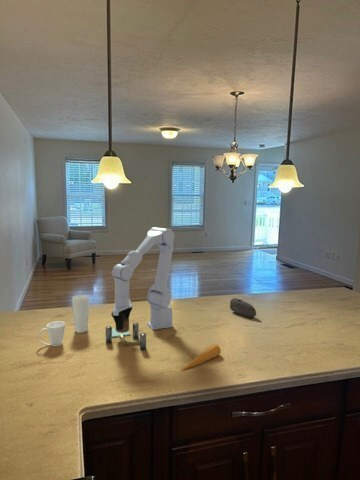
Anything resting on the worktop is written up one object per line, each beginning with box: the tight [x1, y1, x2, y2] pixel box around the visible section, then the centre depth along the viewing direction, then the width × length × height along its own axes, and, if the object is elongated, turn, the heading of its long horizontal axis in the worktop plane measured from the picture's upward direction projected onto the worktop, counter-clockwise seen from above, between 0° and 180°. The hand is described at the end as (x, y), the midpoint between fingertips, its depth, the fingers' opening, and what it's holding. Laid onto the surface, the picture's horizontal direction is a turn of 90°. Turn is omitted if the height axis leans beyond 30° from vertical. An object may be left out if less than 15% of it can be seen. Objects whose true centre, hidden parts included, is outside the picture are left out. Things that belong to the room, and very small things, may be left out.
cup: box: [38, 320, 66, 347], centre depth 139 cm, size 7×10×8 cm
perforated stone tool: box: [229, 297, 257, 318], centre depth 176 cm, size 15×5×7 cm, turn 39°
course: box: [105, 322, 147, 351], centre depth 140 cm, size 14×15×6 cm
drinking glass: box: [71, 294, 90, 334], centre depth 152 cm, size 7×7×15 cm
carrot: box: [180, 343, 222, 372], centre depth 128 cm, size 20×4×4 cm, turn 134°
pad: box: [112, 327, 131, 339], centre depth 152 cm, size 8×8×1 cm
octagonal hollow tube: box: [115, 317, 130, 333], centre depth 144 cm, size 5×5×4 cm
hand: (122, 326), depth 145 cm, fingers closed on octagonal hollow tube, 5 cm apart
